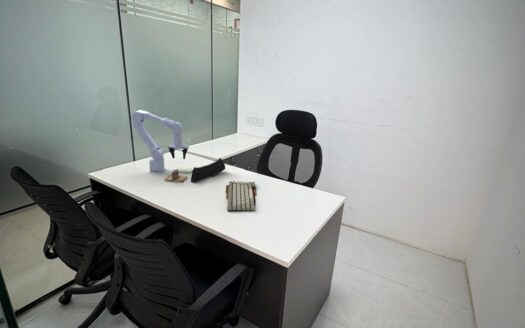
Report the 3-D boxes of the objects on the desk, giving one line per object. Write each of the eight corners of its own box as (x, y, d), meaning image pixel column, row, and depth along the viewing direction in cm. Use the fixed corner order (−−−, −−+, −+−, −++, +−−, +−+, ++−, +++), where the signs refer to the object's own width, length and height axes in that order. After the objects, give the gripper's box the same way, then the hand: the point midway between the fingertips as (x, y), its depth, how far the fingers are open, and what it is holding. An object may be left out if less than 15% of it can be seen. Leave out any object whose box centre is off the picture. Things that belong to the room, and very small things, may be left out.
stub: (164, 180, 169) (164, 171, 167) (169, 176, 176) (168, 167, 175) (183, 182, 168) (182, 173, 167) (187, 177, 176) (186, 169, 174)
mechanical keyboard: (261, 212, 138) (261, 206, 137) (224, 213, 136) (224, 207, 135) (255, 184, 174) (255, 180, 172) (226, 185, 171) (226, 180, 170)
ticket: (174, 172, 184) (173, 170, 184) (178, 168, 193) (178, 166, 192) (190, 173, 184) (190, 171, 184) (194, 169, 193) (194, 167, 192)
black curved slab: (190, 172, 163) (221, 149, 183) (187, 171, 165) (218, 149, 185) (197, 193, 172) (226, 170, 192) (193, 192, 174) (223, 169, 194)
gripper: (165, 140, 179) (166, 159, 183) (186, 141, 178) (187, 160, 183) (169, 138, 186) (170, 156, 190) (189, 139, 185) (190, 157, 189)
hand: (178, 158), depth 187 cm, fingers open, 7 cm apart
